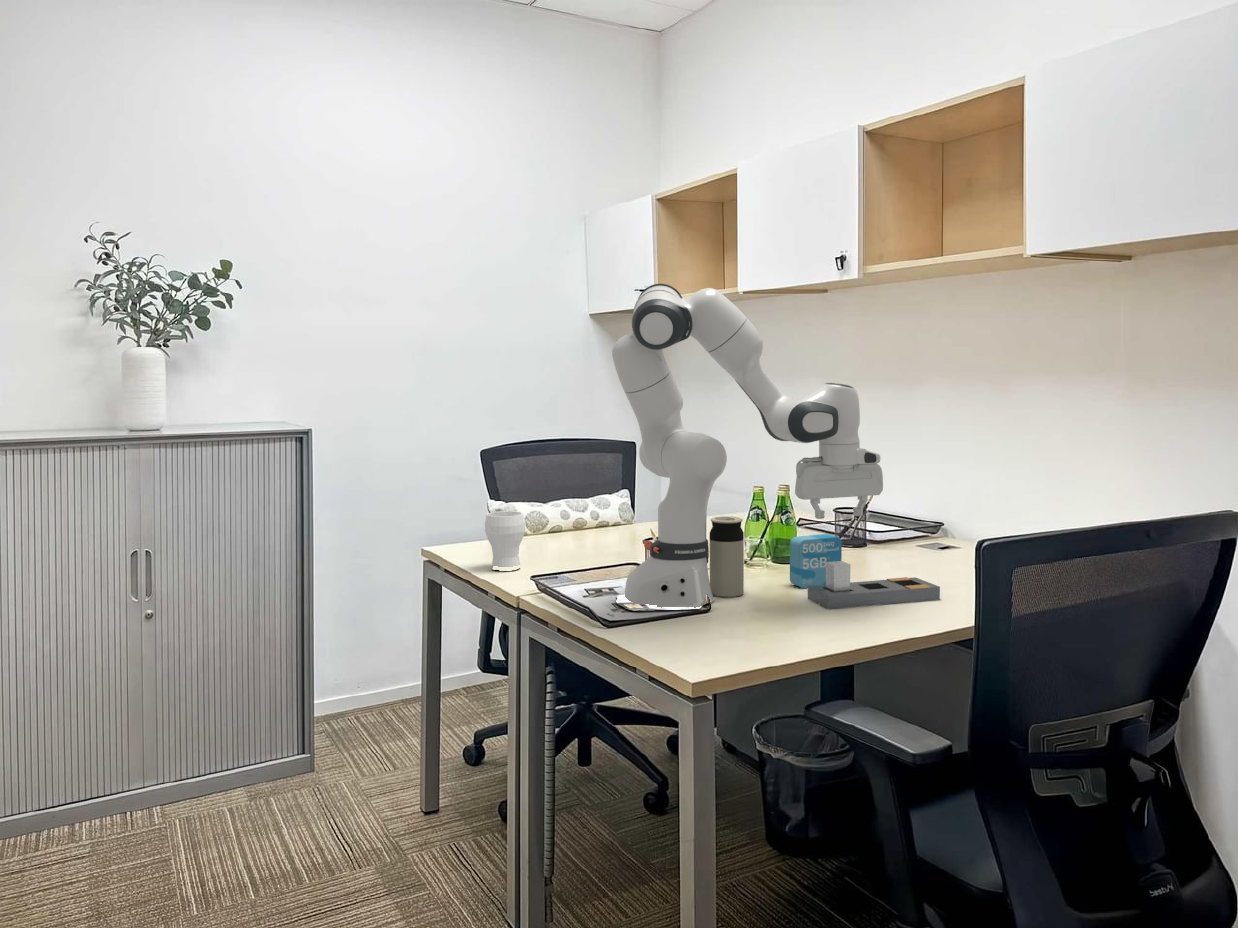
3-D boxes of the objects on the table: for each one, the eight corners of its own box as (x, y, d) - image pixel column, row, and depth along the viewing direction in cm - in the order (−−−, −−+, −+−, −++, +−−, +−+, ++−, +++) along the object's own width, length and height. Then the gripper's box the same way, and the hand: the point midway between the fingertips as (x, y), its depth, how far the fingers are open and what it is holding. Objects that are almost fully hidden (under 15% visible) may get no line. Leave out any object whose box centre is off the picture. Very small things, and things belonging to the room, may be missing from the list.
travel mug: (717, 599, 219) (716, 522, 217) (704, 591, 227) (704, 517, 225) (748, 596, 221) (749, 520, 219) (735, 588, 229) (735, 515, 227)
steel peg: (833, 605, 212) (834, 565, 211) (825, 600, 216) (825, 562, 215) (849, 603, 213) (850, 564, 212) (841, 599, 217) (841, 560, 216)
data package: (798, 589, 228) (799, 539, 227) (789, 585, 232) (789, 536, 231) (841, 584, 232) (842, 536, 231) (831, 580, 236) (831, 533, 235)
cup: (530, 571, 251) (529, 515, 250) (491, 574, 248) (490, 518, 246) (519, 563, 261) (518, 509, 260) (482, 566, 257) (480, 512, 256)
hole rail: (827, 609, 209) (828, 594, 208) (807, 598, 218) (807, 584, 218) (939, 599, 216) (940, 585, 216) (915, 589, 226) (915, 576, 225)
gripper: (802, 459, 206) (802, 522, 207) (887, 455, 211) (886, 516, 212) (790, 456, 212) (790, 517, 213) (872, 452, 217) (872, 512, 218)
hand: (838, 517), depth 213 cm, fingers open, 8 cm apart
